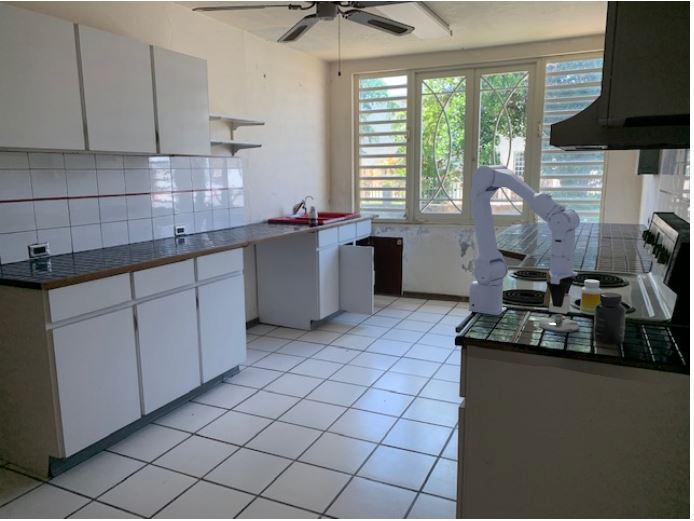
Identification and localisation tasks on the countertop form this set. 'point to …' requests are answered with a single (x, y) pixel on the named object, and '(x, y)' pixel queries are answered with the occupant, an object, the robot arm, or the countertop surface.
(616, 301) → the supplement bottle
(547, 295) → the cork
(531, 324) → the countertop surface
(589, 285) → the supplement bottle
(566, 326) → the knobbed pot lid
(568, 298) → the white faceted lump
